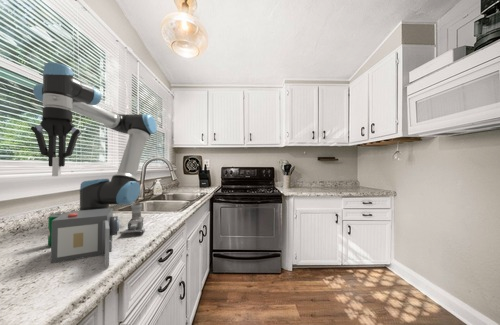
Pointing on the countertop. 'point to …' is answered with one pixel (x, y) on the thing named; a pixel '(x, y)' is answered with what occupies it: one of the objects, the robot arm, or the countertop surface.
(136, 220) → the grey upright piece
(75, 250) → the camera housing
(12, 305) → the countertop surface
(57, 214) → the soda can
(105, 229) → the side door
